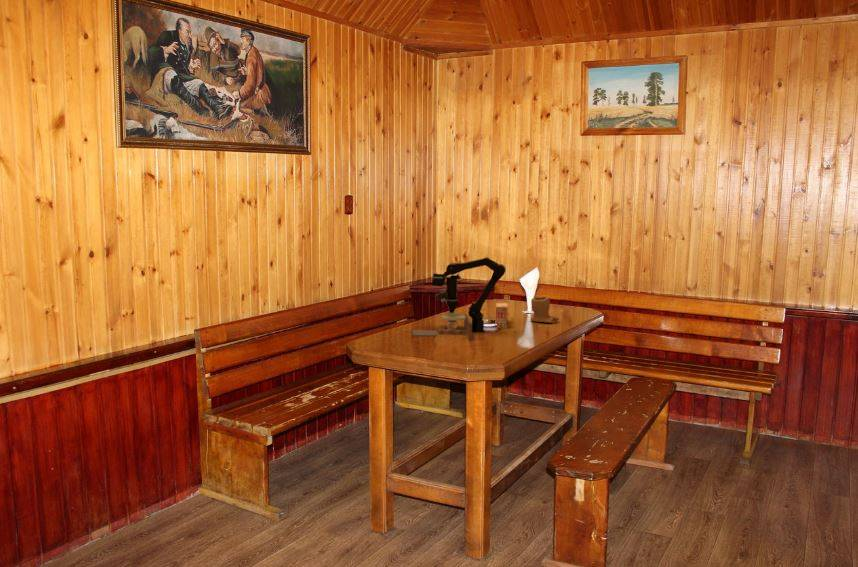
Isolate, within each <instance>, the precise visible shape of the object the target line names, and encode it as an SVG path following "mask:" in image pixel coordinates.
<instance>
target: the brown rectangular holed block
mask: <svg viewBox="0 0 858 567" xmlns="http://www.w3.org/2000/svg"><path fill="white" fill-rule="evenodd" d="M463 315H464V316H465V318H466V321H464V322H463V326H462V325H460V326H459V325H457V329H456V330H447V325H438V326H437V331H438V335H440V336H441V335H443V336H444V335H452V336H453V335H455V336H456V335H458V336H459V335H460V336H461V335H462V336H466V338H467V340H468V341H473V340H472V338H473V336H472V335H473V332H472V319H471V318H470V316H469V314H467V313H466V314H463Z"/></svg>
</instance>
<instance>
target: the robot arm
mask: <svg viewBox="0 0 858 567" xmlns="http://www.w3.org/2000/svg"><path fill="white" fill-rule="evenodd" d="M484 266H485V267H487V268H488V269H490V271H492V274H491V278H490V279H489V281H488V282H487V284H486V286H485V287H484V289H483V290H482V293H481V294H480V296H479V297H478V299H476V301H474V300H473V301H472V302H471V305H470V306H469V307H468V314H467V315H468V317H469V318H470V319H471V322H472V333H485V332H484V328H485V327H484V326H485V320H484V319H483V318H484V314H483V313H482V312H481V310H482V308H483V305H484V304H485V302H486V300H487V298H488V297H489V295H490V294H491V292H492V290H493V289H494V287H495V285H496V284H497V283H498V281H500V279H501V278H502V277H503V276H504V275H505V274H506V271H507V270H506V265H504V264H503V263H497V261H494V260H493V259H491V258H489V257H488V256H486V257H483V258H479V259H474V260H469V261H466V262H451V263H449V264H448V265H447V266H446V270H445V271H444V272H443V273H433V274H432V281H431V283H432V284H431V285H432V287H442V288H443V287H444V285H446V288H445V290H444V291H441V292H438V293H436V294H435V297H436V300H437V302H439V301H441V300H444V301H445V305H446V306H447V307H448V313H455V311H456V308H457V306H459V299H458V280H460V279H462V276H460V274H458V273H461V272H462V271H463V272H464V271H466V270H470V269H474V268H479V267H484Z"/></svg>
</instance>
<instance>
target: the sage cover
mask: <svg viewBox="0 0 858 567" xmlns="http://www.w3.org/2000/svg"><path fill="white" fill-rule="evenodd" d="M441 318H442V321H447V320H456V321H466V318H465V316H464V314H462V313H461V312H454V313H450V312H445V314H441Z"/></svg>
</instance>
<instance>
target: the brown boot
mask: <svg viewBox="0 0 858 567" xmlns="http://www.w3.org/2000/svg"><path fill="white" fill-rule="evenodd" d="M550 301H551V300H550V298H549V297H548V296H545V295H544V296H534V297H533V298H531V301H530V304H531V308H532V311H533V317H531V318H530V321H532V322H536V323H543V322H544V324H545V323H546V324H555V323H557V322H558V321H559V320H560V318H559V317H556V316H551V315H550V314H549V311H550V306H551V302H550Z"/></svg>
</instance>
